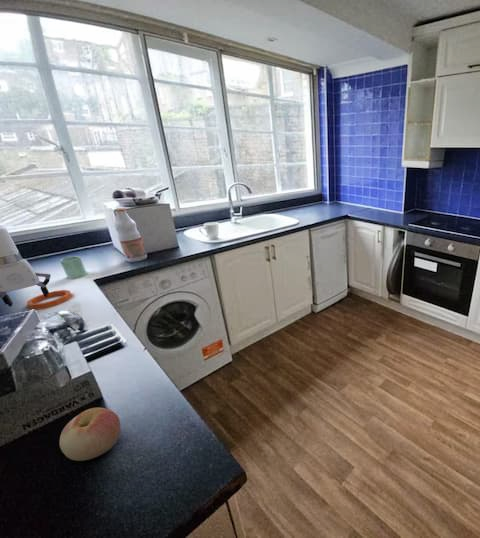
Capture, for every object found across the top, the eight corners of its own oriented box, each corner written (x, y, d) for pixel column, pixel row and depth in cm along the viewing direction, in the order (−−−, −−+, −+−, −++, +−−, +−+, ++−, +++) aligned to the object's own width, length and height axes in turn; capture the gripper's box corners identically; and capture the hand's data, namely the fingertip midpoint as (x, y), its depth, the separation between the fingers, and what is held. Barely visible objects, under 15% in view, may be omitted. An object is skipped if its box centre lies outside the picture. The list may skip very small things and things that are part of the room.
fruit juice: (122, 262, 158) (103, 210, 147) (137, 256, 166) (120, 206, 155) (137, 263, 156) (118, 210, 145) (151, 256, 165) (135, 206, 154)
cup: (68, 280, 138) (60, 262, 134) (67, 276, 142) (59, 258, 139) (87, 275, 142) (80, 258, 139) (86, 271, 147) (79, 255, 143)
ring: (28, 312, 110) (25, 308, 110) (30, 301, 119) (28, 297, 118) (72, 301, 118) (70, 296, 117) (71, 291, 127) (69, 287, 126)
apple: (106, 424, 64) (92, 397, 61) (136, 434, 62) (123, 406, 59) (59, 462, 57) (40, 434, 53) (91, 475, 54) (73, 446, 51)
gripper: (-33, 269, 99) (-6, 312, 106) (39, 255, 110) (59, 295, 117) (-29, 263, 104) (-3, 305, 111) (40, 251, 115) (59, 289, 122)
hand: (29, 300), depth 114 cm, fingers open, 9 cm apart
